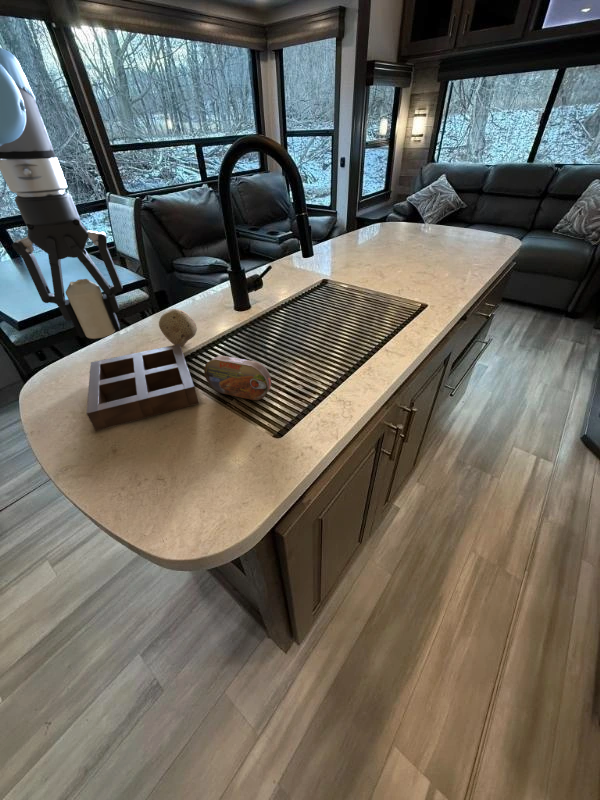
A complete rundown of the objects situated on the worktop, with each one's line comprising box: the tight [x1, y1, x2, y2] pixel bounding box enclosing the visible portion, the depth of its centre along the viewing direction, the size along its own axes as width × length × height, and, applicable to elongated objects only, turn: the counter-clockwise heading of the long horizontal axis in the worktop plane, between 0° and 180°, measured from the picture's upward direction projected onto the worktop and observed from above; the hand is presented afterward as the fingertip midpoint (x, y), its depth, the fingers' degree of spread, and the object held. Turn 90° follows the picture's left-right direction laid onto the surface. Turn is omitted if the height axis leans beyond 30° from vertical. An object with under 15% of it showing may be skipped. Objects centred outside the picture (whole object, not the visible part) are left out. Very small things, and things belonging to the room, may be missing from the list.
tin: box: [203, 355, 272, 401], centre depth 70 cm, size 15×3×8 cm, turn 70°
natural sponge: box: [158, 308, 198, 347], centre depth 87 cm, size 9×9×10 cm
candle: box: [64, 278, 116, 340], centre depth 62 cm, size 6×6×10 cm
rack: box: [86, 344, 200, 432], centre depth 73 cm, size 20×20×4 cm
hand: (100, 331), depth 65 cm, fingers closed on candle, 5 cm apart
